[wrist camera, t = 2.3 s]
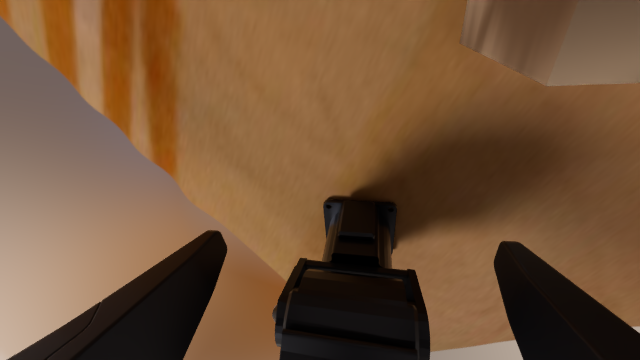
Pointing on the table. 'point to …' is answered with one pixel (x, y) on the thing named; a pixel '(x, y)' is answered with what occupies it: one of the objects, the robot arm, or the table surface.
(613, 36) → the walnut slab
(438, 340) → the table surface
